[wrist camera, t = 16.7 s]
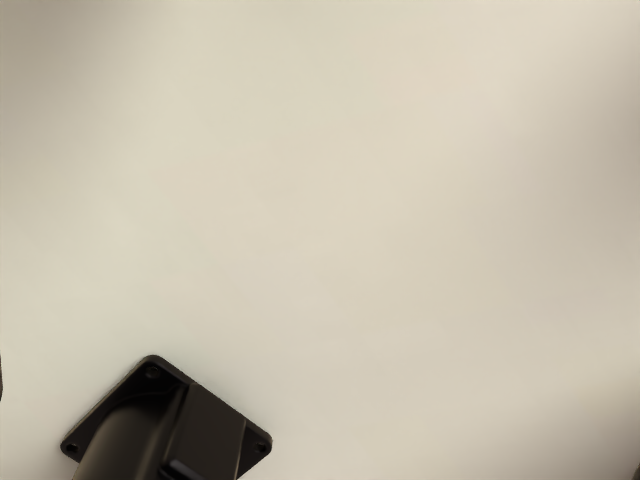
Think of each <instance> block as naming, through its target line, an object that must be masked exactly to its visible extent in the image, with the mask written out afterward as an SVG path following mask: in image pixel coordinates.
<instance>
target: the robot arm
mask: <svg viewBox="0 0 640 480" xmlns="http://www.w3.org/2000/svg"><path fill="white" fill-rule="evenodd" d="M149 367H155V368H156V369H157V371H154V370H151V369H150V368H149ZM2 391H3V383H2V370H1V356H0V401H1V397H2ZM272 441H273V440H272V437H271V436H270V435H269V434H268V433H267V432H265V431H264V430H262V429H261V428H260V427H258V426H257V425H255V424H254V423H253V422H251V421H250V420H248V419H247V418H246V417H244V416H243V415H242V414H240V413H239V412H238V411H236V410H235V409H233V408H232V407H231V406H229V405H228V404H226V403H225V402H224V401H222V400H221V399H219V398H218V397H217V396H215V395H214V394H212V393H211V392H210V391H208V390H207V389H205V388H204V387H203V386H201V385H200V384H198V383H197V382H195V381H194V380H193V379H191V378H190V377H188V376H187V375H186V374H184V373H183V372H181V371H180V370H179V369H177V368H176V367H174V366H173V365H172V364H170V363H169V362H167V361H166V360H165V359H163V358H162V357H159V356H157V355H150V356H147V357H145V358H144V359H143V360H142V361H141V362H140V363H139V364H138V365H137V366H136V367H135V368H134V369H133V370H132V371H131V372H130V373H129V374H128V375H127V376H126V377H125V378H124V379H123V380H122V381H121V382H120V383H118V384H117V385H116V386H115V387H114V388H113V389H112V390H111V391H110V392H109V393H108V394H107V395H106V396H105V397H104V398H103V399H102V400H101V401H100V402H99V403H98V404H97V405H96V406H95V407H94V408H93V409H92V410H91V411H90V412H89V413H88V414H87V415H86V416H85V417H84V418H83V419H82V420H81V421H80V422H79V423H78V424H77V425H76V426H75V427H74V428H73V429H72V430H71V431H70V432H69V433H68V434H67V435H66V436H65V438H64V440H63V441H62V443H61V445H60V448H61V450H62V452H63V453H64V454H65V455H67V456H68V457H70V458H71V459H73V460H75V461H76V462H78V463H79V466H78V468H77V471H76V473H75V475H74V477H73V479H72V480H237V479H238V478H240V477H241V476H242V475H243V474H244V473H246V472H247V471H248V470H249V469H251V468H252V467H253V466H254V465H256V464H257V463H258V462H259V461H261V460H262V459H263V458H264V457H266V456H267V455H268V454H269V453H270V452H271V449H272ZM256 443H262V444H264V445H258V444H256ZM72 444H74V445H76V446H74V445H72ZM632 480H640V464H639V466H638V468H637V470H636V472H635V473H634V475H633V478H632Z"/></svg>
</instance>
